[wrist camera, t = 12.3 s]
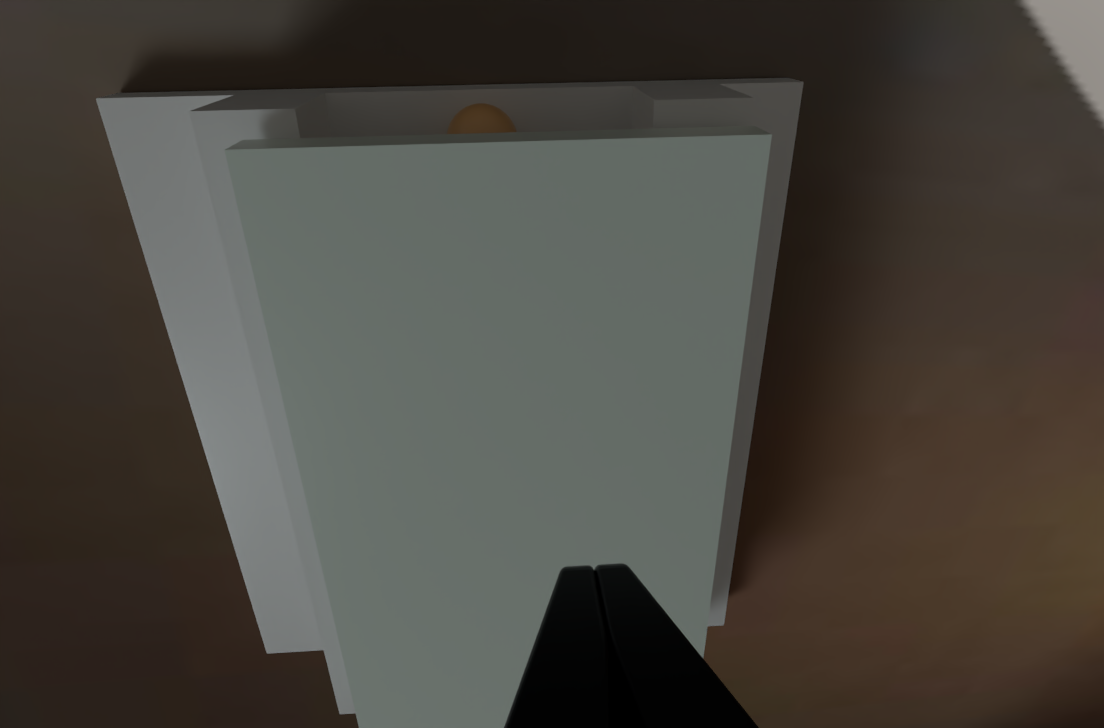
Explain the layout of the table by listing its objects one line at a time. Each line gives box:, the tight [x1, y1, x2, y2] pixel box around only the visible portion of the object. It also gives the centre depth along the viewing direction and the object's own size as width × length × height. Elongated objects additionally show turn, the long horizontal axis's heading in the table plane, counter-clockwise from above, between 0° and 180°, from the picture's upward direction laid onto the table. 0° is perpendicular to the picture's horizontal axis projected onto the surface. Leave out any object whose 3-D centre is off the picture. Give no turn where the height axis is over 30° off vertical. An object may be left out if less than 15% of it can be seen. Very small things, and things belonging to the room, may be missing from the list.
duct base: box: [96, 78, 804, 714], centre depth 19 cm, size 16×18×4 cm
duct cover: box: [224, 126, 772, 728], centre depth 17 cm, size 10×17×1 cm, turn 1°
